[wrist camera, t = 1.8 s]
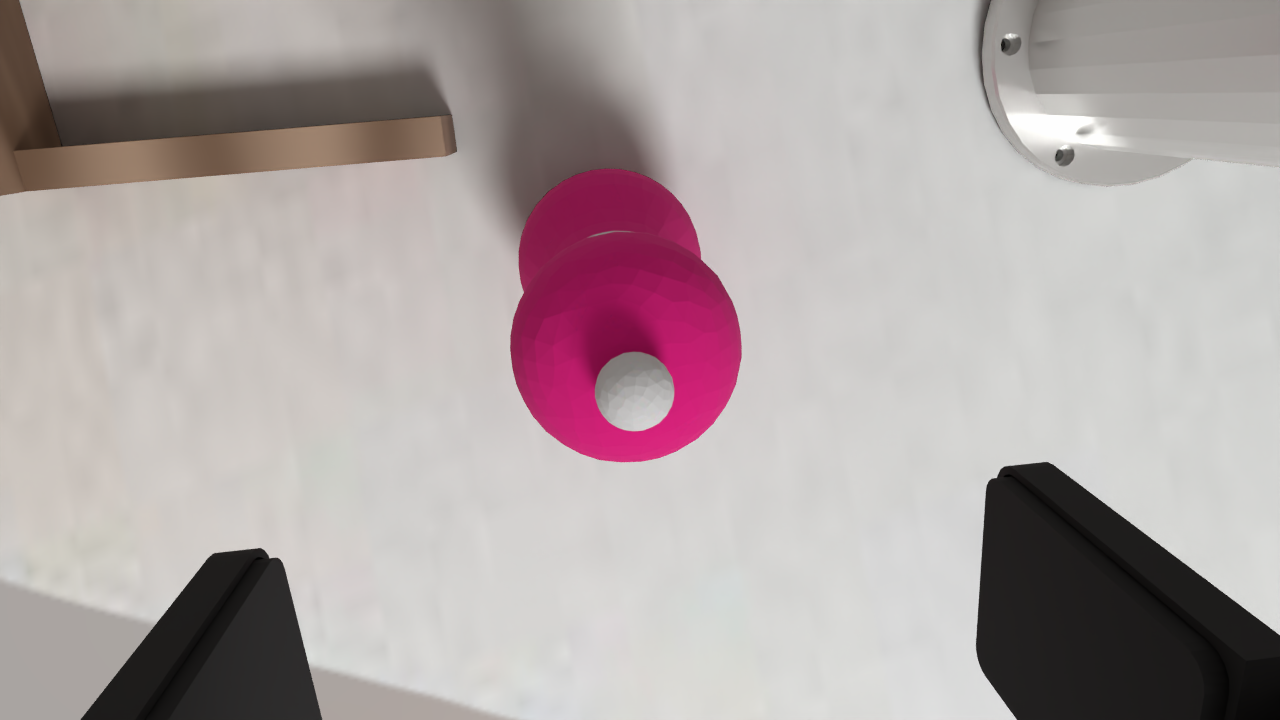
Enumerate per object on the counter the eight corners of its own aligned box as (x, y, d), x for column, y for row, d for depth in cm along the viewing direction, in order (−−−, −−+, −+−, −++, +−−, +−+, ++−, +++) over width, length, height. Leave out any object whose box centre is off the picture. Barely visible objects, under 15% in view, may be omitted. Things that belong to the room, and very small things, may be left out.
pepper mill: (510, 175, 35) (428, 268, 16) (674, 148, 35) (788, 208, 16) (542, 332, 37) (503, 579, 18) (696, 307, 37) (818, 524, 18)
